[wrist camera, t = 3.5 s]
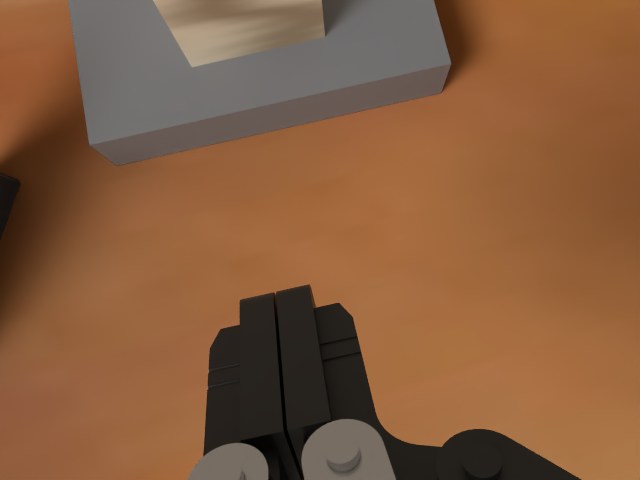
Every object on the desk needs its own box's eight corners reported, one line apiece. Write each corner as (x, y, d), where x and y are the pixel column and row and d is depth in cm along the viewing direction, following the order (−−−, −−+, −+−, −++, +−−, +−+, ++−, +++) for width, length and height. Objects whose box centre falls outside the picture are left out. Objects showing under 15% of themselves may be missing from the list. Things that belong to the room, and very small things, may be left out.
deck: (383, -120, 30) (386, -170, 28) (441, 92, 28) (451, 63, 25) (83, -50, 31) (54, -93, 28) (116, 165, 28) (89, 145, 26)
